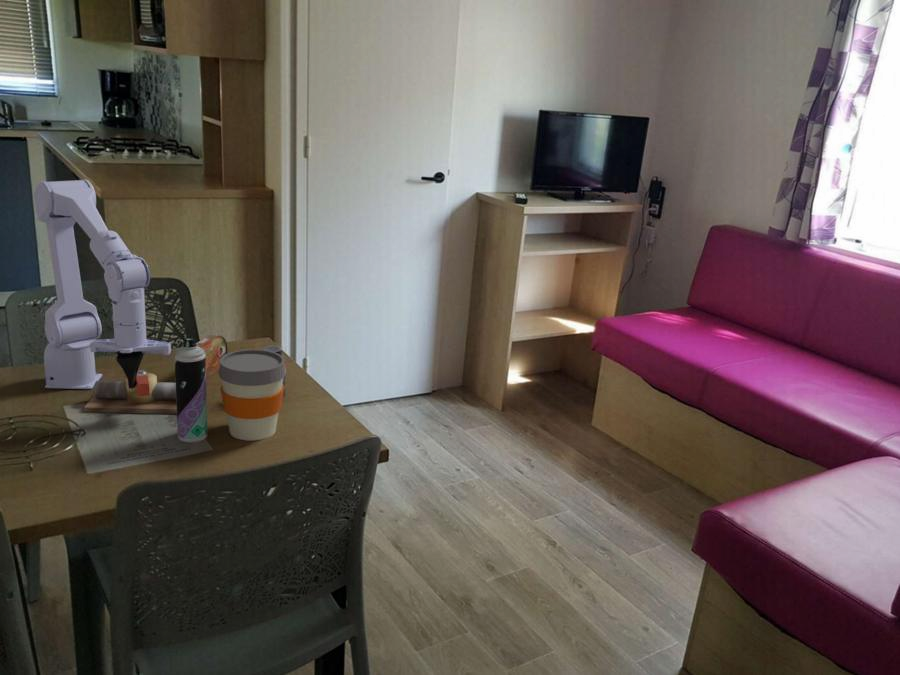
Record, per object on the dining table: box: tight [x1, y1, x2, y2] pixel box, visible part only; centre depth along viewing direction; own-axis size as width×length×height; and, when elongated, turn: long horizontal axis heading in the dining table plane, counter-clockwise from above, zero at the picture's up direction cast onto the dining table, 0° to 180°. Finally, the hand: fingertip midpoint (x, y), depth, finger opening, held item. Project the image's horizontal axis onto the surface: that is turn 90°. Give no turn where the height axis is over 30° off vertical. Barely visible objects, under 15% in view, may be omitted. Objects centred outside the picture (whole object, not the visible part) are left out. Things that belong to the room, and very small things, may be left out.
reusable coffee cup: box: [218, 348, 287, 442], centre depth 150 cm, size 13×13×15 cm
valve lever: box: [136, 369, 150, 397], centre depth 154 cm, size 10×2×3 cm, turn 23°
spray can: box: [174, 337, 208, 443], centre depth 144 cm, size 6×6×20 cm
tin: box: [195, 334, 229, 380], centre depth 176 cm, size 15×3×8 cm, turn 166°
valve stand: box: [83, 372, 177, 415], centre depth 159 cm, size 20×10×6 cm, turn 97°
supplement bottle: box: [262, 345, 287, 398], centre depth 166 cm, size 6×6×11 cm
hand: (133, 386), depth 151 cm, fingers closed, pressing on valve lever
